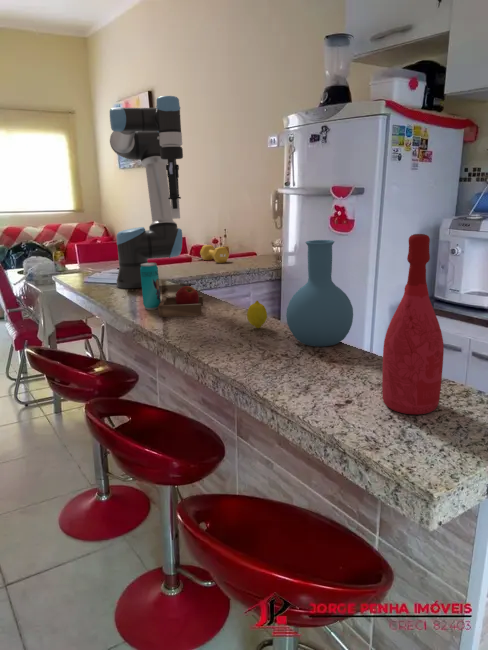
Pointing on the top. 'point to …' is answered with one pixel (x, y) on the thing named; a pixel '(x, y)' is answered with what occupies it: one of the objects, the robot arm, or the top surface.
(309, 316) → the vase
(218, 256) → the dumbbell
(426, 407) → the wine bottle
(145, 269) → the beverage can
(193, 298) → the apple
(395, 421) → the top surface
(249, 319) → the fruit
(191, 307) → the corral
